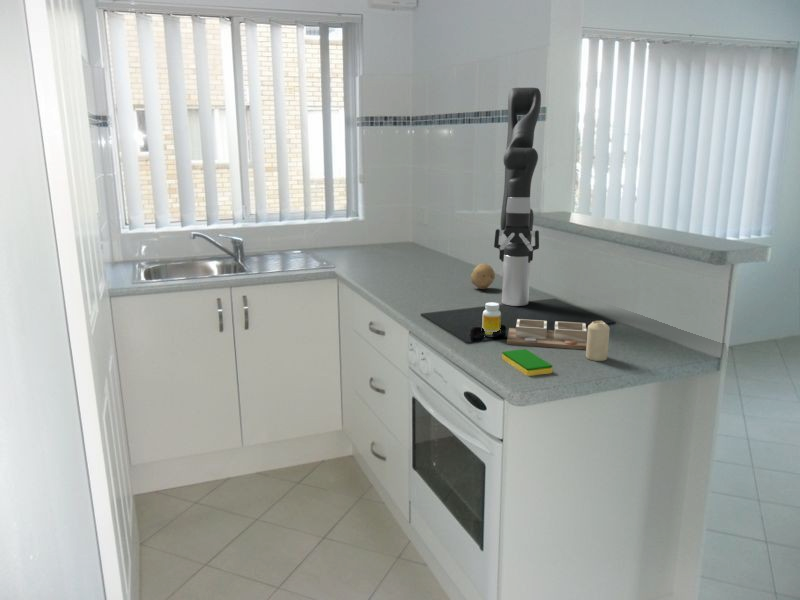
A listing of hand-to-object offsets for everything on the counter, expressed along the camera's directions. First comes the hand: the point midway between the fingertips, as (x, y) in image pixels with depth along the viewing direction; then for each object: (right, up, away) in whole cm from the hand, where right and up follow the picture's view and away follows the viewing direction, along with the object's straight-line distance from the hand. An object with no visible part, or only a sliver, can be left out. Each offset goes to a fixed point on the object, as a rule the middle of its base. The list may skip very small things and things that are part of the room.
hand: (515, 261), depth 216 cm
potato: (-6, -9, +37) cm, 38 cm away
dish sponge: (-5, -30, -45) cm, 54 cm away
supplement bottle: (-11, -23, -20) cm, 32 cm away
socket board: (+6, -24, -24) cm, 35 cm away
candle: (+15, -28, -39) cm, 50 cm away
